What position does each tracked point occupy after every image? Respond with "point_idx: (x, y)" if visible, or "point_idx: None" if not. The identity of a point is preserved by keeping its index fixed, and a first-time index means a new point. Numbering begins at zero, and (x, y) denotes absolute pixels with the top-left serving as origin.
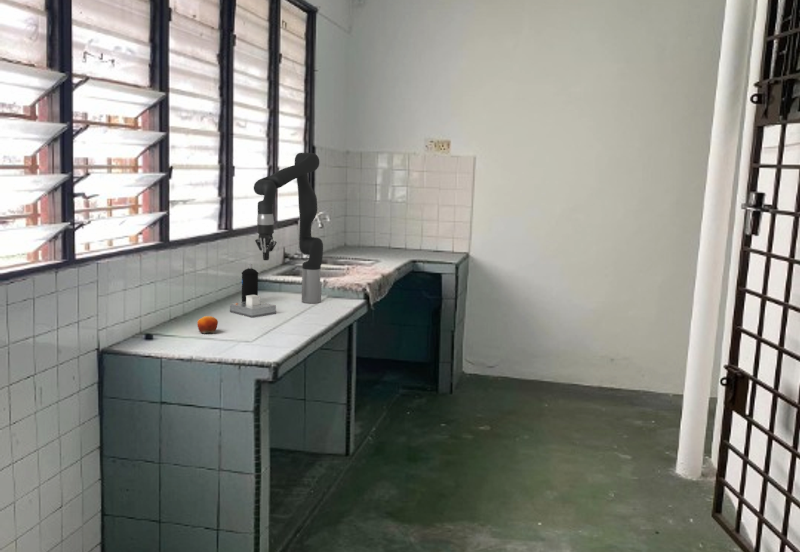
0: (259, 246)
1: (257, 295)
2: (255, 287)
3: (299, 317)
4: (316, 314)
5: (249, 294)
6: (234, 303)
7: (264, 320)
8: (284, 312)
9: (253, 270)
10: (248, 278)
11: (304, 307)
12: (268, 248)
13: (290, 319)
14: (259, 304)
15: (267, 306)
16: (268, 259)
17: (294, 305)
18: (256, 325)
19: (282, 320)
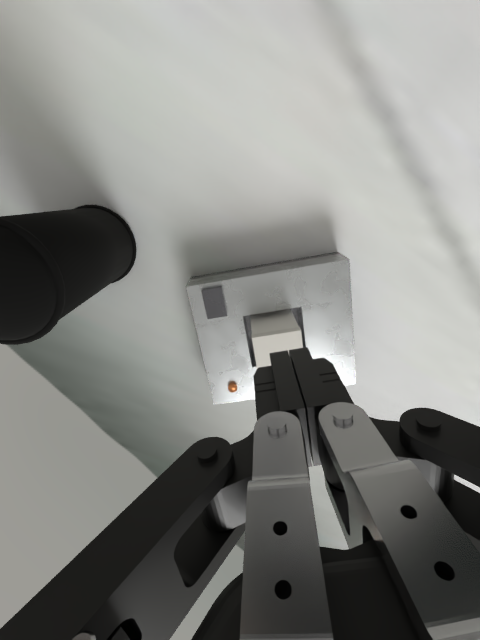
0: (203, 573)
1: (283, 334)
2: (97, 250)
3: (464, 202)
4: (473, 77)
5: (112, 277)
6: (217, 389)
7: (410, 352)
8: (336, 201)
9: (18, 282)
10: (68, 310)
11: (290, 15)
12: (471, 528)
13: (465, 260)
14: (293, 316)
15: (349, 307)
16: (309, 352)
17: (212, 37)
18: (453, 408)
19: (456, 297)
